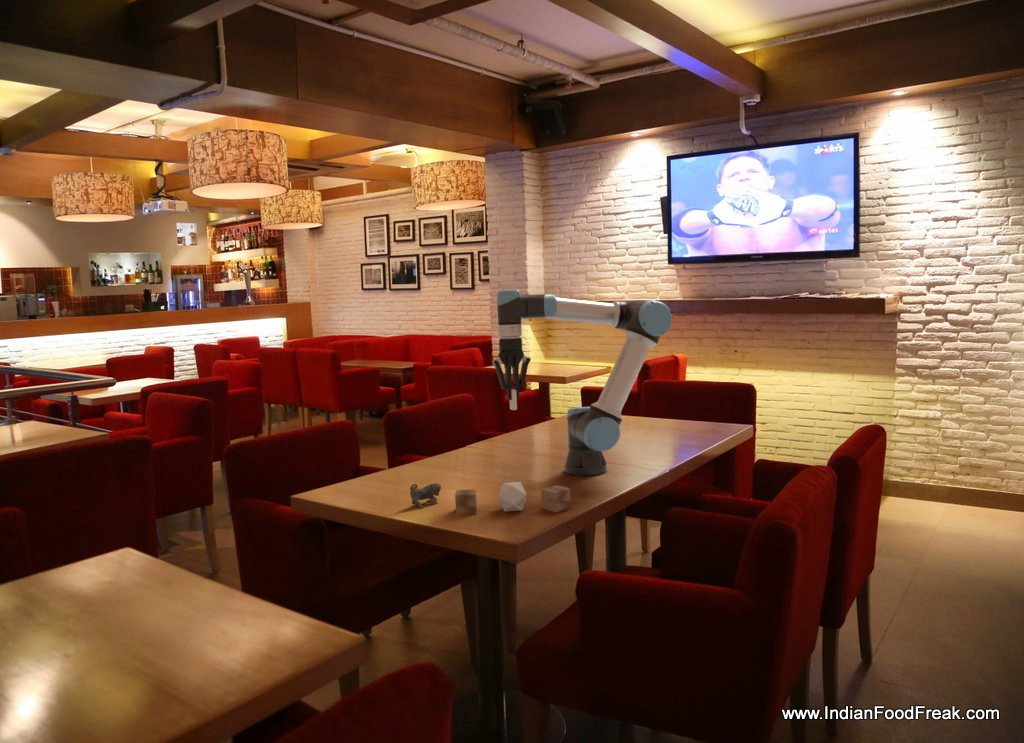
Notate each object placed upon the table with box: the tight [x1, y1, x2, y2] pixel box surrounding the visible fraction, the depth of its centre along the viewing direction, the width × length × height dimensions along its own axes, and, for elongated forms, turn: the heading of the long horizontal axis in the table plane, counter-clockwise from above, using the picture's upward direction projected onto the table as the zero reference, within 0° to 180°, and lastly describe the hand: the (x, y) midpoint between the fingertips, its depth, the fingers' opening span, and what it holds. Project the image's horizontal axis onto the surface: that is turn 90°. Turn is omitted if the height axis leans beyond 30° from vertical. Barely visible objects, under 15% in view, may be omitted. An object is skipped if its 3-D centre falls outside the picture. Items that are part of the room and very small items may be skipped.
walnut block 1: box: [454, 488, 478, 516], centre depth 235 cm, size 6×6×6 cm
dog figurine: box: [409, 482, 442, 509], centre depth 245 cm, size 12×6×7 cm, turn 132°
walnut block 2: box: [541, 485, 572, 513], centre depth 234 cm, size 6×6×6 cm
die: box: [497, 481, 528, 513], centre depth 235 cm, size 8×9×10 cm
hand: (513, 409), depth 257 cm, fingers closed
